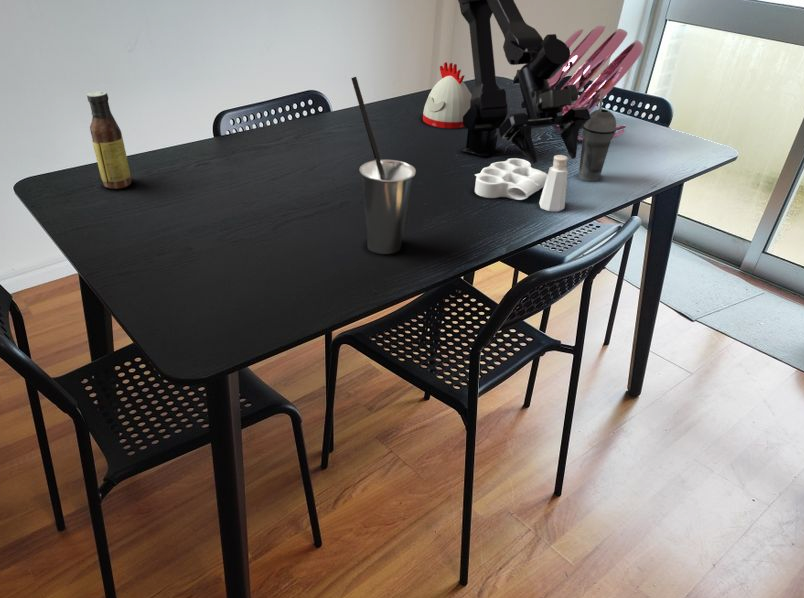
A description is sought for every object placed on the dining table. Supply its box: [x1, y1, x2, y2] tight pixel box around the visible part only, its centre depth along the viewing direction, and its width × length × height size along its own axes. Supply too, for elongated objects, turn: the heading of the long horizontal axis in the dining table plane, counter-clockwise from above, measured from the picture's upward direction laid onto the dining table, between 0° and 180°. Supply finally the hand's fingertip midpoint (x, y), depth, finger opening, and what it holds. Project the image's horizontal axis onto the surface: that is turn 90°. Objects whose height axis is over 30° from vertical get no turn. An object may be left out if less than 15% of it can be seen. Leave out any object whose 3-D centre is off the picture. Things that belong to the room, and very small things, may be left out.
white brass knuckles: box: [474, 157, 548, 201], centre depth 159 cm, size 3×18×15 cm
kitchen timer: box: [422, 61, 473, 129], centre depth 193 cm, size 14×14×15 cm
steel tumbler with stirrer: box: [350, 76, 417, 255], centre depth 127 cm, size 11×11×30 cm
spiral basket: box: [548, 24, 645, 143], centre depth 181 cm, size 28×28×27 cm
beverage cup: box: [578, 89, 617, 182], centre depth 159 cm, size 7×7×20 cm
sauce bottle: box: [86, 90, 132, 190], centre depth 151 cm, size 7×6×20 cm
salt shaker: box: [538, 154, 569, 213], centre depth 148 cm, size 5×5×11 cm
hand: (554, 160), depth 147 cm, fingers open, 9 cm apart
